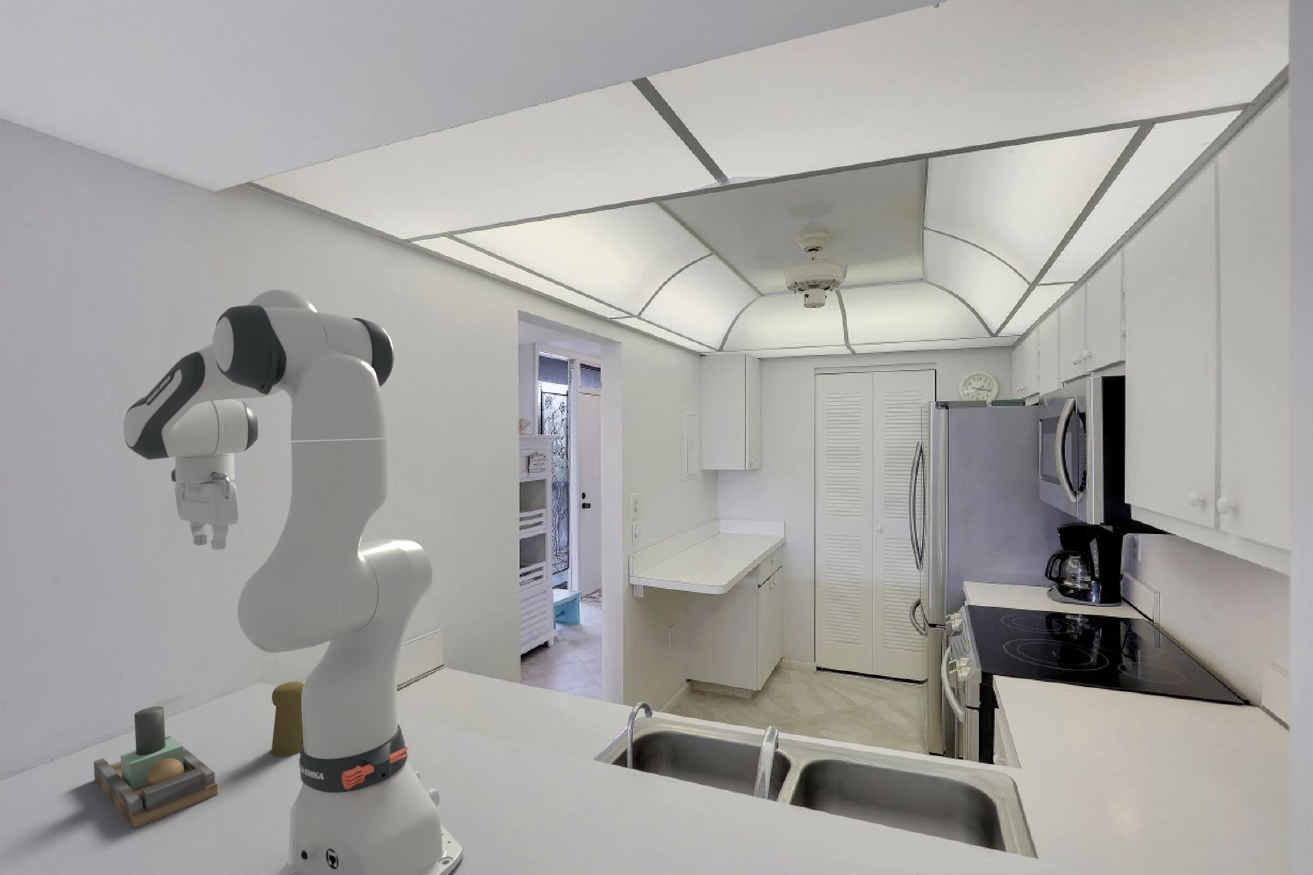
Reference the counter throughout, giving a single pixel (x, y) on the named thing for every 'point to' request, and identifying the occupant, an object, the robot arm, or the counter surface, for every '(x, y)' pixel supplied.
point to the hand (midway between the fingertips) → (209, 546)
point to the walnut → (164, 771)
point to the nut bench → (159, 811)
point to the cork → (287, 719)
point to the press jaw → (148, 747)
